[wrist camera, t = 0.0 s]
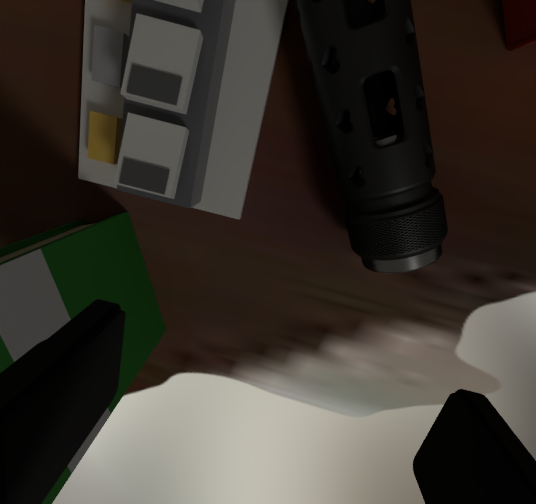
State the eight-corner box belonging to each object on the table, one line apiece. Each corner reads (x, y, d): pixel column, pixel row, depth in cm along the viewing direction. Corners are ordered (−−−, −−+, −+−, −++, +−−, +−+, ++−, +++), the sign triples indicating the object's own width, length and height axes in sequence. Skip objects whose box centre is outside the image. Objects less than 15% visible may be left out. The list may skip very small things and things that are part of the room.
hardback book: (75, 220, 41) (-189, 315, 18) (128, 211, 40) (-81, 299, 18) (118, 336, 46) (-44, 518, 24) (166, 330, 46) (44, 514, 23)
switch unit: (97, -103, 30) (50, -163, 24) (299, -48, 30) (301, -93, 25) (84, 177, 39) (48, 183, 33) (240, 217, 39) (232, 230, 34)
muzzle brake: (379, -37, 30) (422, -123, 21) (424, 231, 39) (470, 260, 29) (285, 1, 32) (283, -62, 22) (347, 251, 40) (366, 286, 30)
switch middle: (142, 22, 28) (135, 11, 27) (203, 38, 28) (199, 28, 27) (126, 99, 29) (119, 92, 27) (186, 114, 29) (182, 109, 27)
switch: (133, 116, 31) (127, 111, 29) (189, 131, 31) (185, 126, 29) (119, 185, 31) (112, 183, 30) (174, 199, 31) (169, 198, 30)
